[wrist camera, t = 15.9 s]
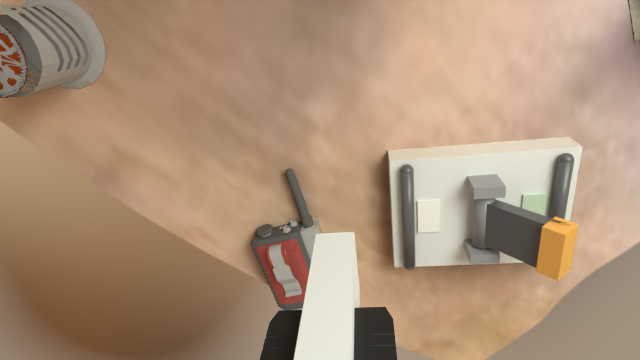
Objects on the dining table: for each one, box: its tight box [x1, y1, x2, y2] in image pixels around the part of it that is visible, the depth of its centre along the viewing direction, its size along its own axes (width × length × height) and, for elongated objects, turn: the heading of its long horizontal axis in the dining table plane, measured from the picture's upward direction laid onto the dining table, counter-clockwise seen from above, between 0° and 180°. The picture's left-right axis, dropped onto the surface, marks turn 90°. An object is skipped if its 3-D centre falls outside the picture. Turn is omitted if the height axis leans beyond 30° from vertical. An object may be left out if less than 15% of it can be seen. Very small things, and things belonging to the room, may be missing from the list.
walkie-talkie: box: [251, 169, 321, 310], centre depth 50 cm, size 9×4×20 cm
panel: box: [388, 137, 582, 270], centre depth 44 cm, size 14×19×6 cm
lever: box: [472, 198, 579, 281], centre depth 40 cm, size 6×2×10 cm
